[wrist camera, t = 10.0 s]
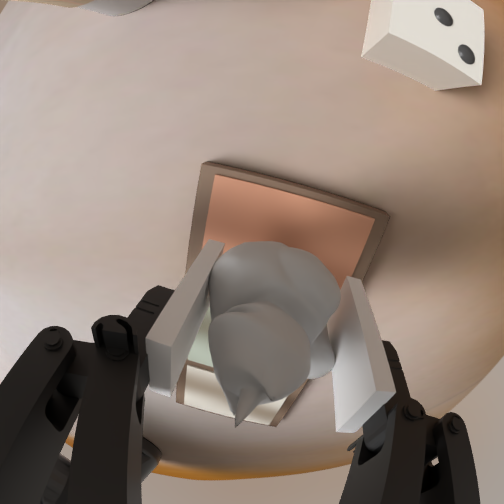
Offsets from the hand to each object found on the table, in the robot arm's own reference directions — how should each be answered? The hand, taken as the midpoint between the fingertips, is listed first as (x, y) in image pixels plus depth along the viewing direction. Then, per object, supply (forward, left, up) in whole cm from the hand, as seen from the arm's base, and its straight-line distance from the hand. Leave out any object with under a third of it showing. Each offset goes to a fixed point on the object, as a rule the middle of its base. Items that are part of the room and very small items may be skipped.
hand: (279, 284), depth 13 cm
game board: (-8, 0, -5) cm, 9 cm away
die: (+15, -4, -5) cm, 16 cm away
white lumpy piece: (0, 0, 0) cm, 0 cm away
